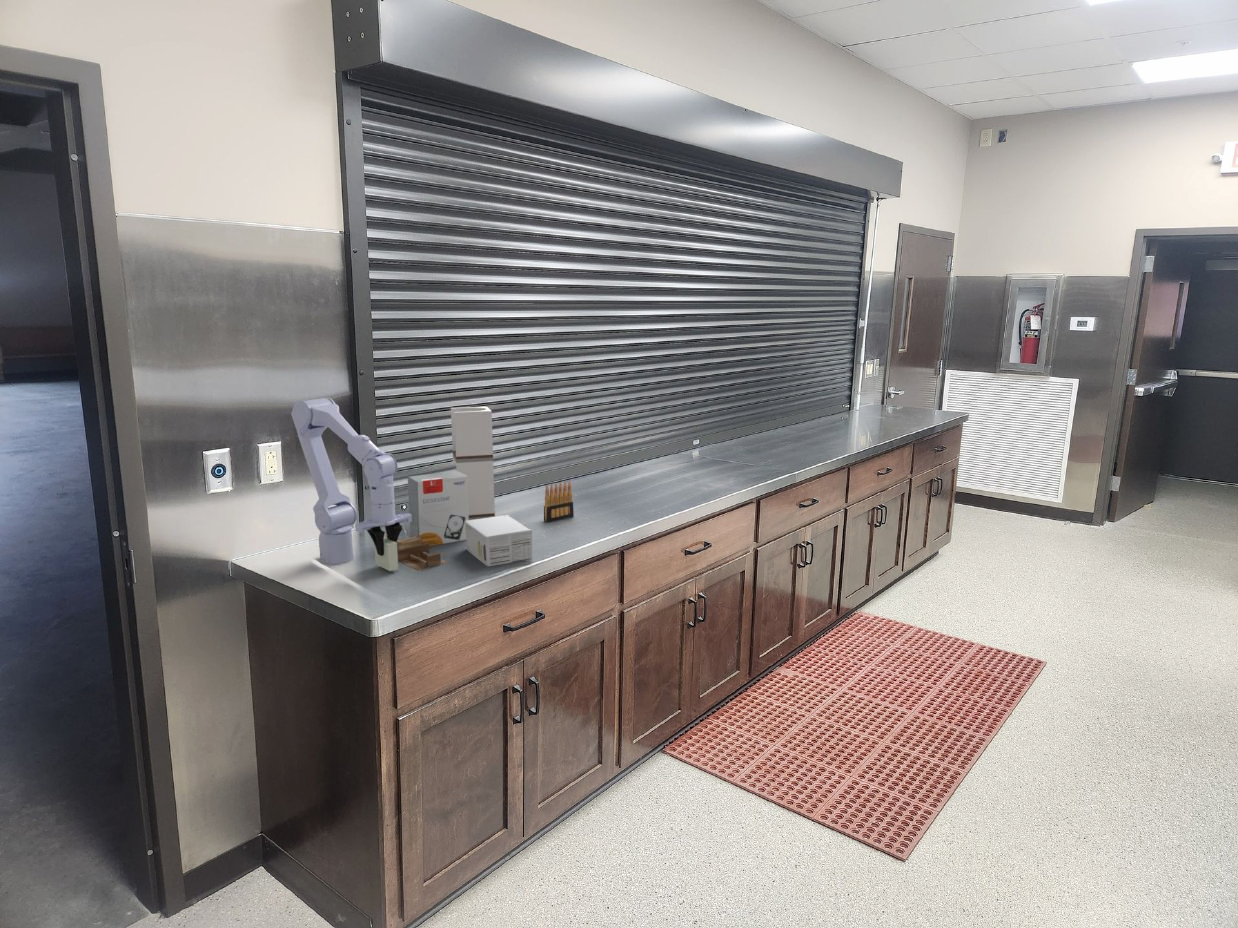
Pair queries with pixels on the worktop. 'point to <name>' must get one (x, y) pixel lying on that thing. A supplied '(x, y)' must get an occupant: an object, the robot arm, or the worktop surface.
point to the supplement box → (498, 540)
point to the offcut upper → (408, 542)
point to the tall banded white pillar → (475, 457)
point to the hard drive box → (438, 507)
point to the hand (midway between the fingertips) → (386, 553)
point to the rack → (419, 557)
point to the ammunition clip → (558, 503)
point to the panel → (388, 556)
